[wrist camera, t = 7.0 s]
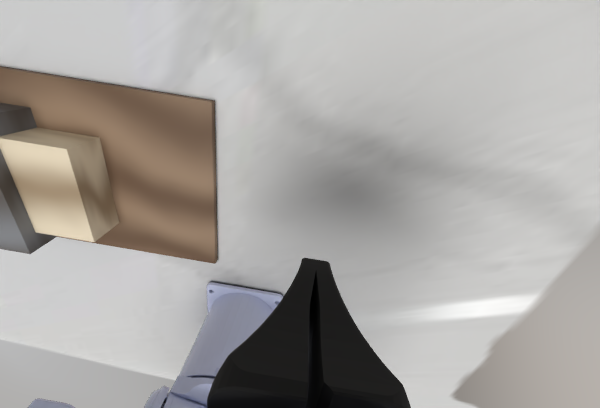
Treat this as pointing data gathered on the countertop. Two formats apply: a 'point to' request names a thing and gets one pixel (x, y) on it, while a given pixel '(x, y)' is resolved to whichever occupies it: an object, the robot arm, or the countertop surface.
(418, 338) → the countertop surface
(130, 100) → the board
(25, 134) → the cream wooden block
